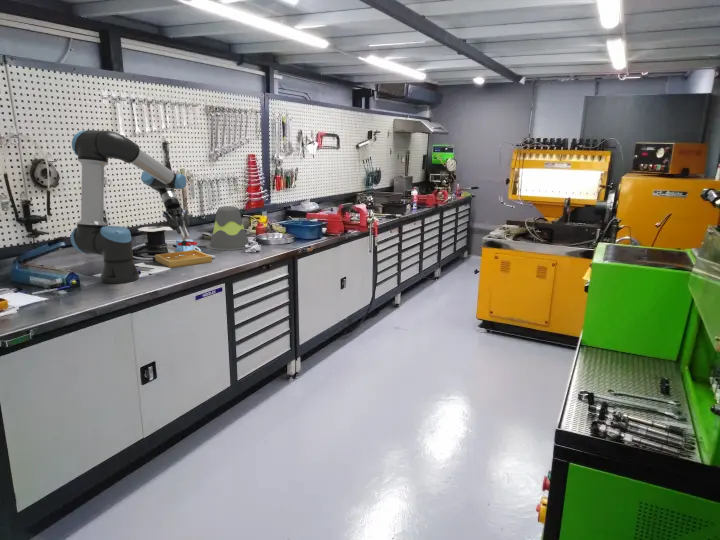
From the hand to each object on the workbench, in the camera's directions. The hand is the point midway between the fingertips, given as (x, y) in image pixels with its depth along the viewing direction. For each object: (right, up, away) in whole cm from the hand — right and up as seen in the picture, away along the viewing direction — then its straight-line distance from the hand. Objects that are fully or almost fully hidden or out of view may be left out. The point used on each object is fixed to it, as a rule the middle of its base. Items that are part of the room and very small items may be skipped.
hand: (185, 237), depth 244 cm
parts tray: (-3, -12, +6) cm, 14 cm away
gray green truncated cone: (+9, -2, +49) cm, 50 cm away
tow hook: (-1, -3, +6) cm, 7 cm away
